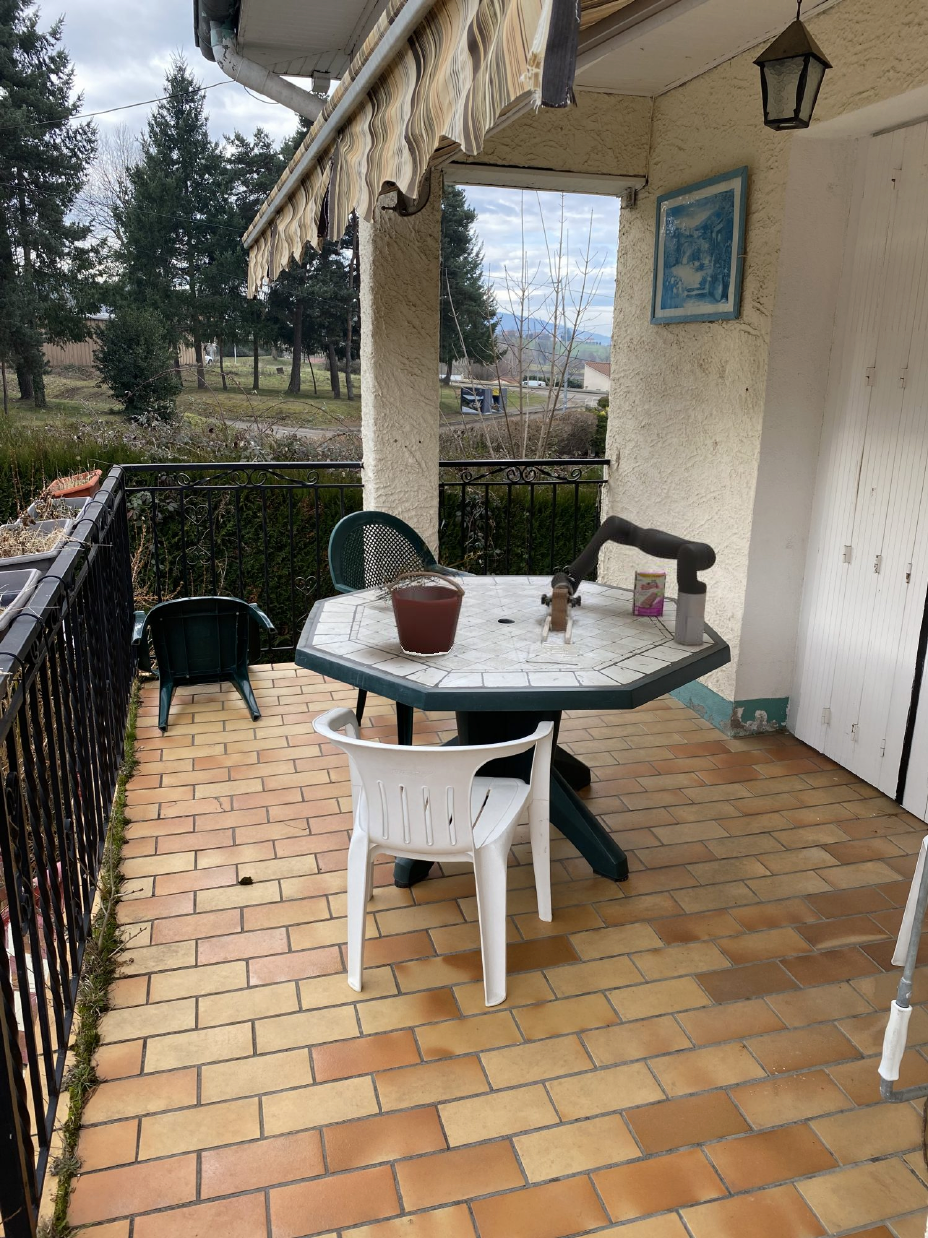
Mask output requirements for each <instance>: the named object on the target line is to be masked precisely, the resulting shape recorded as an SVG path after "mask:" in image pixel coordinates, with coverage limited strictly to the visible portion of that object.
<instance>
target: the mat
mask: <svg viewBox="0 0 928 1238" xmlns="http://www.w3.org/2000/svg"><path fill="white" fill-rule="evenodd" d="M543 644H549V645H554V644H555V645H563V646H546V647H555V648H543V649H550V650H552V649H553V650H554V649H557V650H562V649H563V650H566V651H554V652H564V653H550V654H561V655H562V654H565V655H579V656H563V657H572V658H573V657H579V658H580V652H579V651H573V650H581V645H580V646H577V645H578V644H570V645H569V644H565V643H564V644H563V643H551V642H550V643H549V642H548V643H543ZM564 645H567V646H564ZM575 645H576V646H575ZM556 647H561V648H556ZM569 650H570V651H569ZM571 650H572V651H571ZM548 652H550V651H548ZM551 652H552V651H551ZM565 652H566V653H565ZM567 652H568V653H567ZM578 652H579V653H578ZM546 654H547V653H546ZM568 662H571V661H568ZM572 662H573V661H572Z"/></svg>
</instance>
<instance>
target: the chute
mask: <svg viewBox="0 0 928 1238" xmlns="http://www.w3.org/2000/svg"><path fill="white" fill-rule="evenodd" d="M551 617H552V616H546V619H545V623H544V628H543V632H542V635H541V643H542V642H548V638H549V633H550V630H551ZM573 620H574V618H573V617H568V616H567V617H566V631H565V641H564V644H570V645H571V638H572V633H573V631H572V630H573V625H574V624H573V623H574V621H573ZM549 629H550V630H549Z"/></svg>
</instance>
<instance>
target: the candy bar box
mask: <svg viewBox="0 0 928 1238" xmlns="http://www.w3.org/2000/svg"><path fill="white" fill-rule="evenodd" d="M666 579H667V573H666V571H659V570H657V571H656V570H637V569H636V570H634V581H633V582H634V583H633V594H632V604H631V607H632V608H631V614H632V616H637V617H638V616H641V617H658V616H662V617H663V615H664V603H665V593H666V591H665V590H666V582H667V581H666Z"/></svg>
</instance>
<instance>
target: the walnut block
mask: <svg viewBox="0 0 928 1238" xmlns="http://www.w3.org/2000/svg"><path fill="white" fill-rule="evenodd" d="M567 594H568V589H553V588H552V593H551V595H552V605H551V616H550V617H551V625H550V632H559V631H565V632H566V631H567V625H566V617H568V616H567V613H568V606H567Z"/></svg>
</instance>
